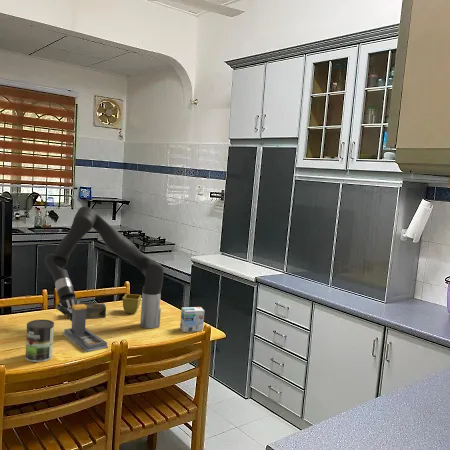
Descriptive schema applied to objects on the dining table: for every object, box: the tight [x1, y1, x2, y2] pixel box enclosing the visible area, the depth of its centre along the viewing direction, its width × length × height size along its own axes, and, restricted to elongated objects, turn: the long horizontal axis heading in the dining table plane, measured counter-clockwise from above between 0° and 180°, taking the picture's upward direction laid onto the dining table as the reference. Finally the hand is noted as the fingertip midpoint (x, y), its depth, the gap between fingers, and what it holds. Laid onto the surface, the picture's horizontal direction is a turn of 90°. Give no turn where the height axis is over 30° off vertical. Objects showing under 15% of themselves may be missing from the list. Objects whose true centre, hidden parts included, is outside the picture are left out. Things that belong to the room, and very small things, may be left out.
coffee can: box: [25, 319, 55, 363], centre depth 185 cm, size 10×10×14 cm
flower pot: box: [122, 293, 142, 315], centre depth 252 cm, size 9×9×9 cm
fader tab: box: [71, 304, 87, 335], centre depth 210 cm, size 4×5×13 cm
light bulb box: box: [179, 306, 205, 333], centre depth 232 cm, size 11×7×11 cm, turn 112°
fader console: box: [62, 327, 109, 353], centre depth 206 cm, size 24×10×2 cm, turn 42°
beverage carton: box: [67, 302, 107, 320], centre depth 240 cm, size 8×19×7 cm, turn 110°
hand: (74, 321), depth 212 cm, fingers closed
